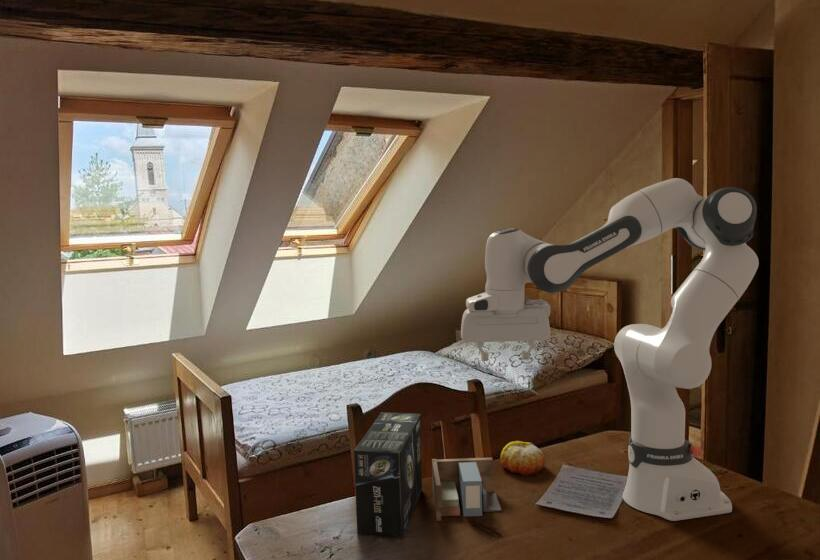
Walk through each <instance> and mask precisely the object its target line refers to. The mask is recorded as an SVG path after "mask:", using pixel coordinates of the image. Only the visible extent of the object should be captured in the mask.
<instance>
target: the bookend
mask: <svg viewBox="0 0 820 560" xmlns="http://www.w3.org/2000/svg"><path fill="white" fill-rule="evenodd" d="M481 480H482V479H481ZM488 512H490V513H491V512H493V513H494V512H502V507H501V504H500V502H499V499H498V496H497V493H496V492H489V493H486V491H485V488H484V485H483V482H482V513H488Z"/></svg>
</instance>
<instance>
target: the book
mask: <svg viewBox="0 0 820 560" xmlns="http://www.w3.org/2000/svg"><path fill="white" fill-rule="evenodd" d="M458 498H459V502H460V506H461V509H462V514H463V517H481V516H483V508H482V480H481V477H480V474H479V470H478V467H477V464H476V462H465V463H459V494H458Z"/></svg>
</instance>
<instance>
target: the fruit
mask: <svg viewBox="0 0 820 560" xmlns="http://www.w3.org/2000/svg"><path fill="white" fill-rule="evenodd" d="M544 454H545V453H544V452H543V450H542V449H540V448H539V447H537V446H536V445H534V444H533V442H527V441H526V442H525V441H521V440H515V441H510V442H508V443H507V444H506V445H505V446H504V447H503V448H502V450H501V453H500V457H499V458H500V464H501V466H502V468H504V469H505V470H508V471H510V472H511V473H514V474H520V475H521V476H531V475H534V474H535V475H536V474H538V473H539V472H540V471H542V469H544V467H545V465H546V457H545V455H544Z"/></svg>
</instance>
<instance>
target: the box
mask: <svg viewBox="0 0 820 560" xmlns="http://www.w3.org/2000/svg"><path fill="white" fill-rule="evenodd" d="M421 420H422V419H421V413H409V412H380V413H379V414H378V416H377V418H376V419H375V421H374V422H373V423H372V425H371V426H370V428H369V429H368V430H367V432H366V433H365V435H364V436H363V437H362V439H361V440H360V441H359V442H358V444H357V446H356V447H355V448H354V450H353V458H354V459H353V460H354V461H353V462H354V463H353V464H354V484H355V485H354V487H355V505H356V506H355V512H356V513H355V514H356V516H355V517H356V534H357V535H358V536H366V537H367V536H368V537H377V538H378V537H379V538H391V539H392V538H394V539H403V538H404V537H405V533H406V531H407V528H408V526H409V524H410V521H411V519H412V516H413V514H414V511H415V509H416V506H417V503H418V502H419V499H420V495H421V493H422V489H423V472H422V471H423V469H422V466H423V465H422V432H421V431H422V430H421V429H422V428H421V424H422V423H421V422H422V421H421Z"/></svg>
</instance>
